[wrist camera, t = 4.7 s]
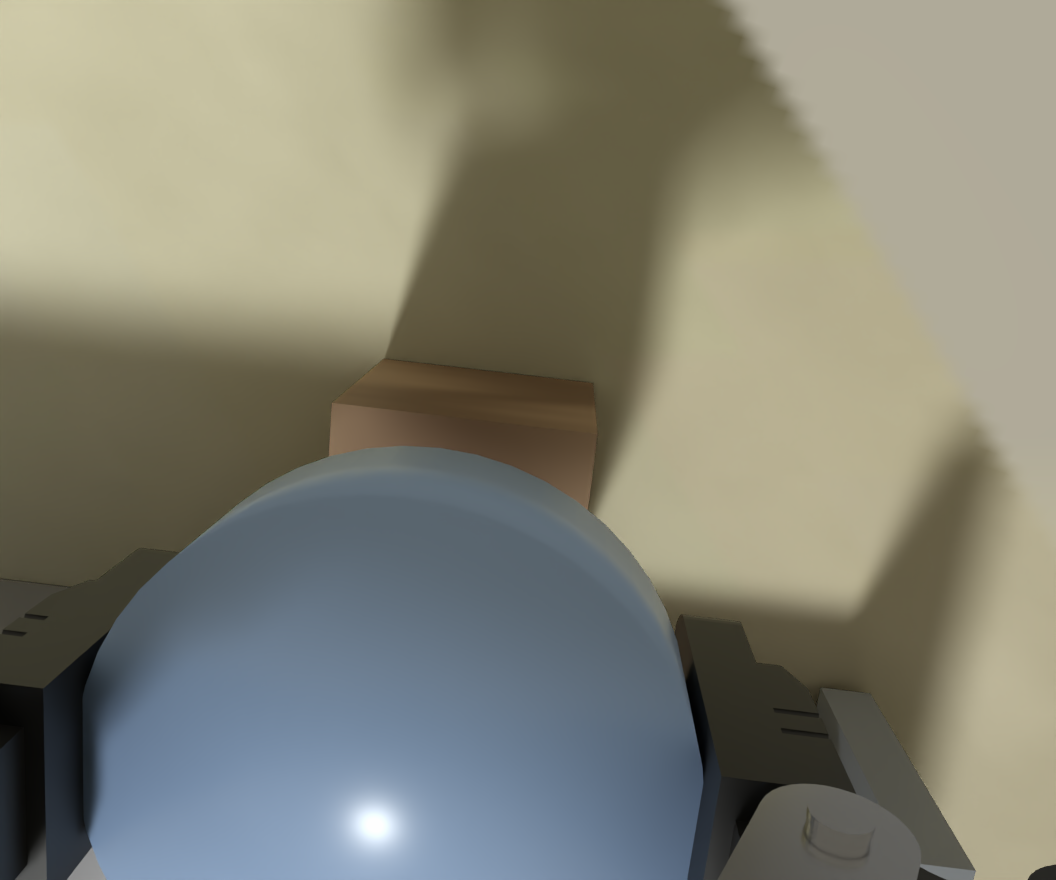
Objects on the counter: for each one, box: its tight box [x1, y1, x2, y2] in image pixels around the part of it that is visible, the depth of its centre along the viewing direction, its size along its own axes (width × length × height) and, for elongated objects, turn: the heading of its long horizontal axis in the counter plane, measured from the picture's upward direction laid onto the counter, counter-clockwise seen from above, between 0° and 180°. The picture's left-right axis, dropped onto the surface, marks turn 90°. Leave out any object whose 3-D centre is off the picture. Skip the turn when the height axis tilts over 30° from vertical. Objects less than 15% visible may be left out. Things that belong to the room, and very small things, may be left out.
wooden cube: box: [329, 359, 598, 510], centre depth 17 cm, size 4×4×4 cm
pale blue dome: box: [82, 446, 703, 880], centre depth 10 cm, size 6×6×2 cm
